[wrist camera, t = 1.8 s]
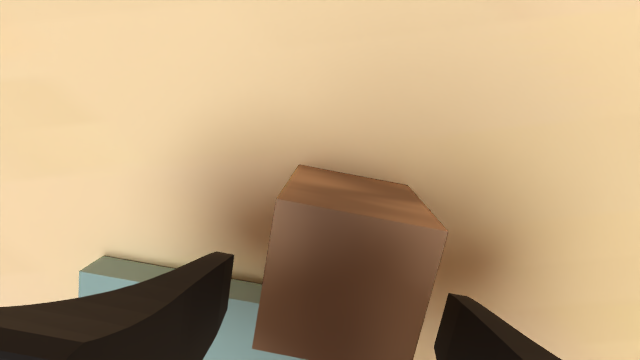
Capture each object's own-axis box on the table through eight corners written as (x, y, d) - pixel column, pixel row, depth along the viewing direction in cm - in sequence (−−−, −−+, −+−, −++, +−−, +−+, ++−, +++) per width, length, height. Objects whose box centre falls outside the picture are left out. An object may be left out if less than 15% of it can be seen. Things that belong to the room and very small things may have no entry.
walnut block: (407, 185, 14) (448, 231, 9) (383, 284, 15) (407, 379, 10) (299, 164, 15) (276, 198, 9) (281, 264, 15) (251, 348, 10)
